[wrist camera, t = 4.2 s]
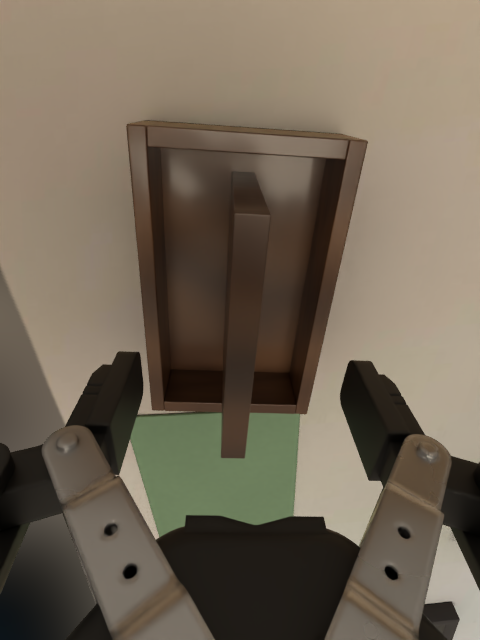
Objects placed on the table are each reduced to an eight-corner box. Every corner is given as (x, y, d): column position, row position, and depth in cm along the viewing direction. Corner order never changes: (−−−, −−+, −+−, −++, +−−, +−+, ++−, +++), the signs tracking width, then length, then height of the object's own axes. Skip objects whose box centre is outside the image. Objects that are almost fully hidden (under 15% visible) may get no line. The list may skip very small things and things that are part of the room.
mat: (124, 416, 28) (123, 418, 28) (299, 407, 28) (300, 409, 28) (168, 564, 41) (168, 566, 40) (290, 558, 41) (290, 560, 41)
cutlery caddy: (145, 120, 18) (81, 131, 10) (342, 133, 18) (425, 155, 11) (161, 370, 26) (133, 482, 18) (296, 374, 26) (325, 484, 19)
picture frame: (325, 650, 56) (440, 638, 55) (329, 669, 54) (447, 657, 53) (321, 615, 49) (452, 601, 48) (325, 636, 47) (461, 622, 46)
